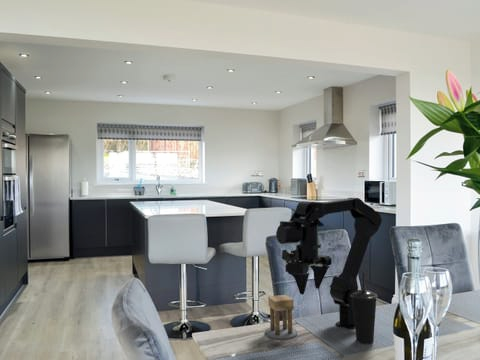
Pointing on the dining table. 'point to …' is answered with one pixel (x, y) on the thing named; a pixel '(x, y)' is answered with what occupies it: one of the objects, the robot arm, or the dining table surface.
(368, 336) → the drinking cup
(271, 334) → the disc
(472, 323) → the dining table surface
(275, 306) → the wooden stool
